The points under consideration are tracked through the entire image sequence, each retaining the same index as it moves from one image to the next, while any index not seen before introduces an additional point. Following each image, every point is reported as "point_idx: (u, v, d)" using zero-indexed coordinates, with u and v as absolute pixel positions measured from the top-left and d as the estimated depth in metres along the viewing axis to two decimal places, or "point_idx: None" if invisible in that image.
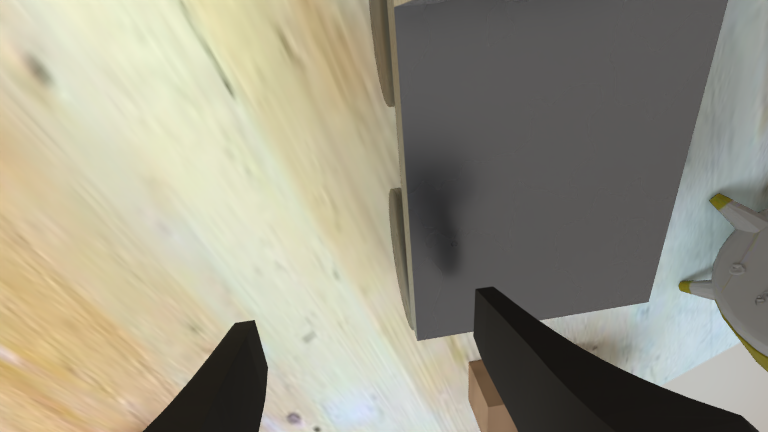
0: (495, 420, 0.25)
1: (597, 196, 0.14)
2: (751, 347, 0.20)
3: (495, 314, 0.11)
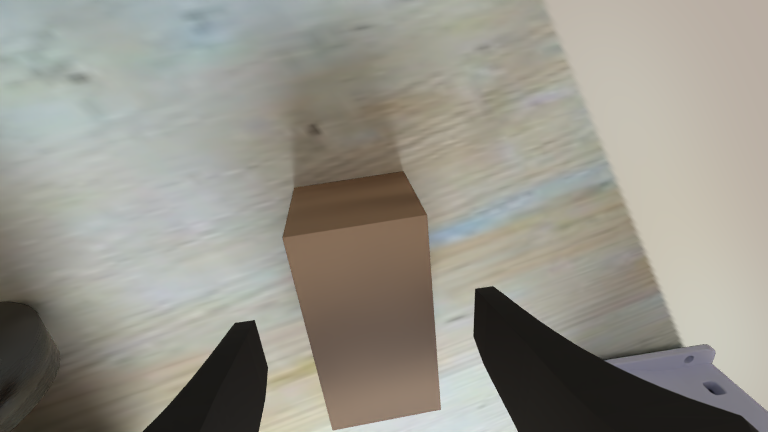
0: (369, 413, 0.14)
1: None
2: None
3: (495, 314, 0.11)
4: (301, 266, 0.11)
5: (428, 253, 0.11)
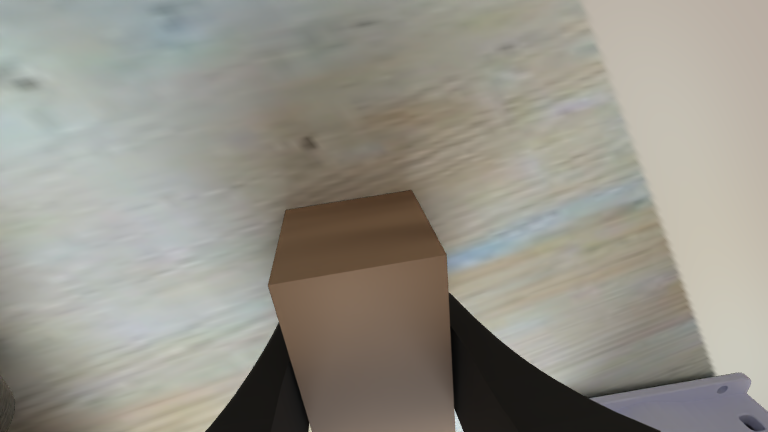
0: None
1: None
2: None
3: None
4: (292, 317, 0.09)
5: (447, 299, 0.09)
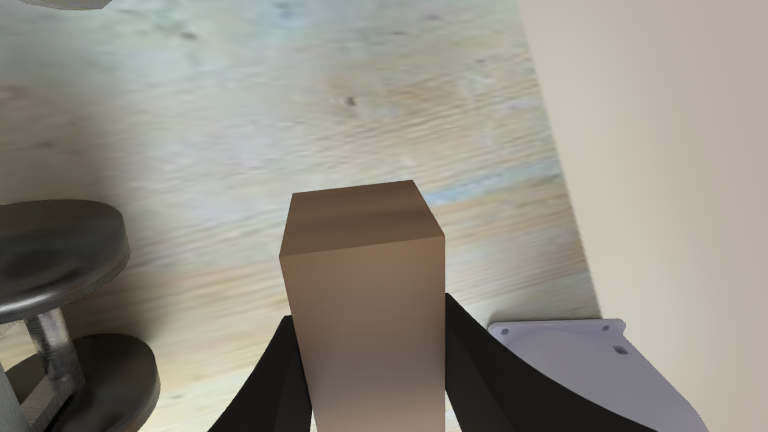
0: None
1: None
2: None
3: None
4: (299, 289, 0.10)
5: (443, 278, 0.10)
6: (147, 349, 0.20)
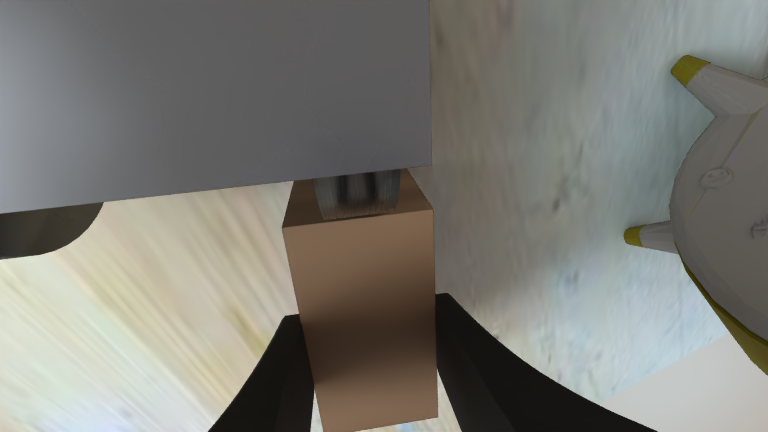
0: (363, 419, 0.13)
1: None
2: (741, 328, 0.10)
3: (443, 322, 0.11)
4: (300, 259, 0.10)
5: (432, 250, 0.11)
6: None
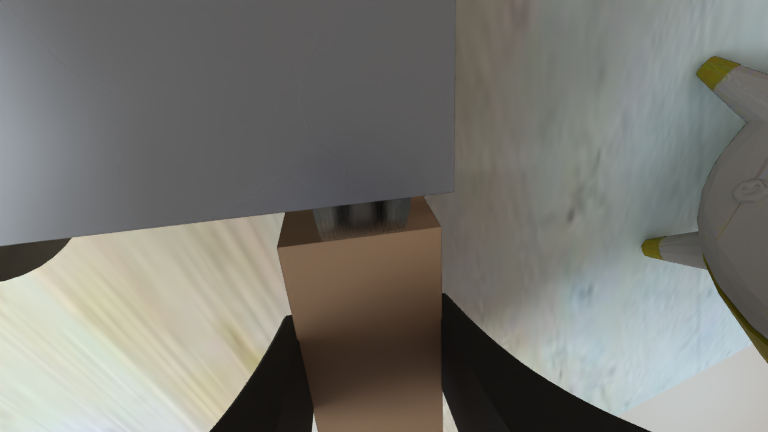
0: None
1: None
2: None
3: None
4: (297, 280, 0.10)
5: (440, 269, 0.10)
6: None
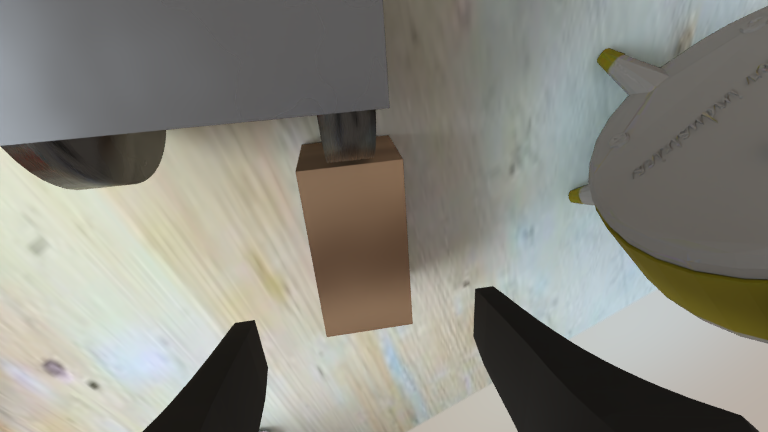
0: (356, 323, 0.18)
1: None
2: (623, 242, 0.13)
3: (495, 314, 0.11)
4: (308, 195, 0.15)
5: (403, 190, 0.15)
6: (163, 136, 0.15)
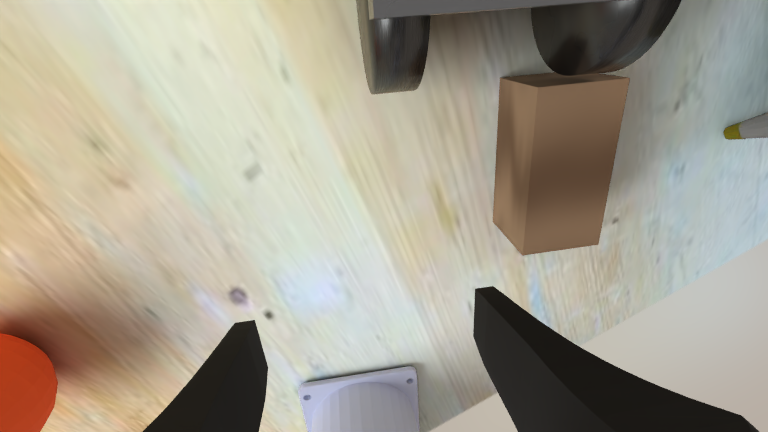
0: (550, 242, 0.19)
1: None
2: None
3: (495, 314, 0.11)
4: (542, 111, 0.16)
5: (623, 108, 0.17)
6: None
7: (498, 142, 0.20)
